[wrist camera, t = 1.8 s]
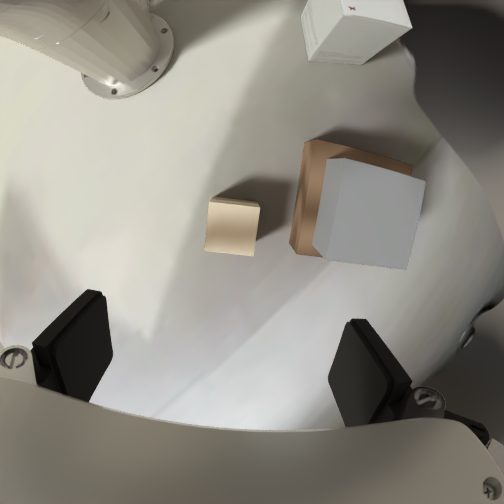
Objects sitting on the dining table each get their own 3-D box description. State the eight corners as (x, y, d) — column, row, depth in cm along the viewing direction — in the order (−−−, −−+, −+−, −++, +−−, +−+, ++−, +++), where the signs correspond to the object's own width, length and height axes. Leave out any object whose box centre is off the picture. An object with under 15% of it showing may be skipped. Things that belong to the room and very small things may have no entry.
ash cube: (213, 196, 32) (209, 201, 27) (256, 201, 32) (260, 207, 28) (209, 238, 33) (204, 250, 29) (251, 243, 34) (253, 256, 29)
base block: (303, 143, 31) (315, 139, 26) (391, 164, 32) (412, 165, 27) (288, 241, 34) (296, 254, 29) (374, 253, 35) (392, 265, 30)
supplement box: (362, 66, 28) (415, 31, 16) (306, 61, 28) (340, 14, 15) (353, 21, 26) (395, -24, 13) (299, 15, 25) (325, -41, 13)
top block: (326, 159, 27) (344, 158, 22) (400, 177, 27) (425, 181, 23) (311, 244, 29) (325, 260, 24) (384, 254, 30) (406, 269, 25)
